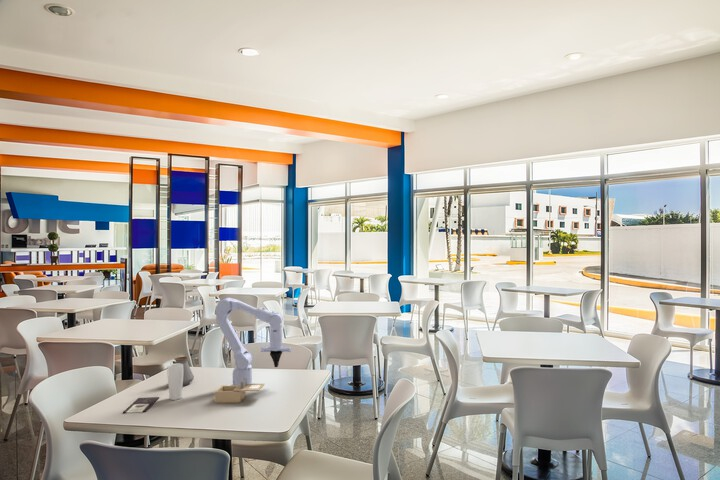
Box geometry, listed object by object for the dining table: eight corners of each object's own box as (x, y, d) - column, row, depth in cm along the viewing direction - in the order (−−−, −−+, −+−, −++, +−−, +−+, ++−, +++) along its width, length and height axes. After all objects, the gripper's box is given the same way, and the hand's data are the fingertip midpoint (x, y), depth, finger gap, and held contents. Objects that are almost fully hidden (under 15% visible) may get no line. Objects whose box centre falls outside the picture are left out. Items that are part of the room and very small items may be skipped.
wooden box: (215, 402, 205) (214, 391, 205) (222, 396, 214) (222, 385, 214) (239, 402, 204) (239, 391, 204) (245, 396, 213) (245, 385, 213)
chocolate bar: (159, 397, 212) (145, 411, 194) (159, 399, 212) (145, 413, 194) (138, 397, 211) (122, 412, 193) (138, 399, 211) (122, 414, 193)
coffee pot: (173, 381, 239) (172, 351, 239) (196, 380, 240) (196, 350, 240) (159, 394, 217) (159, 362, 218) (185, 393, 219) (185, 361, 219)
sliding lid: (233, 391, 204) (233, 383, 204) (239, 384, 214) (239, 377, 214) (259, 391, 204) (258, 383, 204) (264, 384, 213) (264, 377, 213)
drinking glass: (187, 397, 213) (186, 364, 213) (175, 401, 207) (175, 367, 207) (176, 395, 216) (175, 362, 216) (164, 399, 210) (163, 366, 210)
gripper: (259, 340, 225) (259, 368, 225) (289, 340, 224) (289, 368, 224) (262, 337, 232) (263, 364, 232) (292, 337, 231) (292, 364, 231)
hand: (276, 366), depth 228 cm, fingers closed
